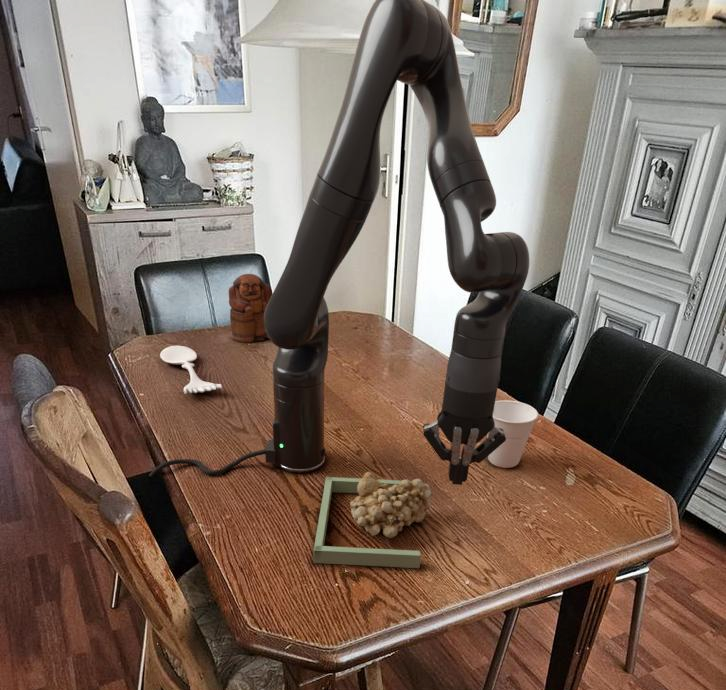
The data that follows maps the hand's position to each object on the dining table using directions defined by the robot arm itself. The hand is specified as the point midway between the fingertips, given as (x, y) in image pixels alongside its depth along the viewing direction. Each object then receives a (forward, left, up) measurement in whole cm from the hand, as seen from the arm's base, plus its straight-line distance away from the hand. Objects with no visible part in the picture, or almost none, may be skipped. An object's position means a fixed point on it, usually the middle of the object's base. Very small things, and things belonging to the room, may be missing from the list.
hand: (456, 481), depth 100 cm
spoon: (-60, +60, -10) cm, 85 cm away
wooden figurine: (-50, +89, -10) cm, 103 cm away
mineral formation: (-11, 0, -10) cm, 15 cm away
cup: (+12, +24, -10) cm, 29 cm away
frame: (-13, 0, -10) cm, 16 cm away
